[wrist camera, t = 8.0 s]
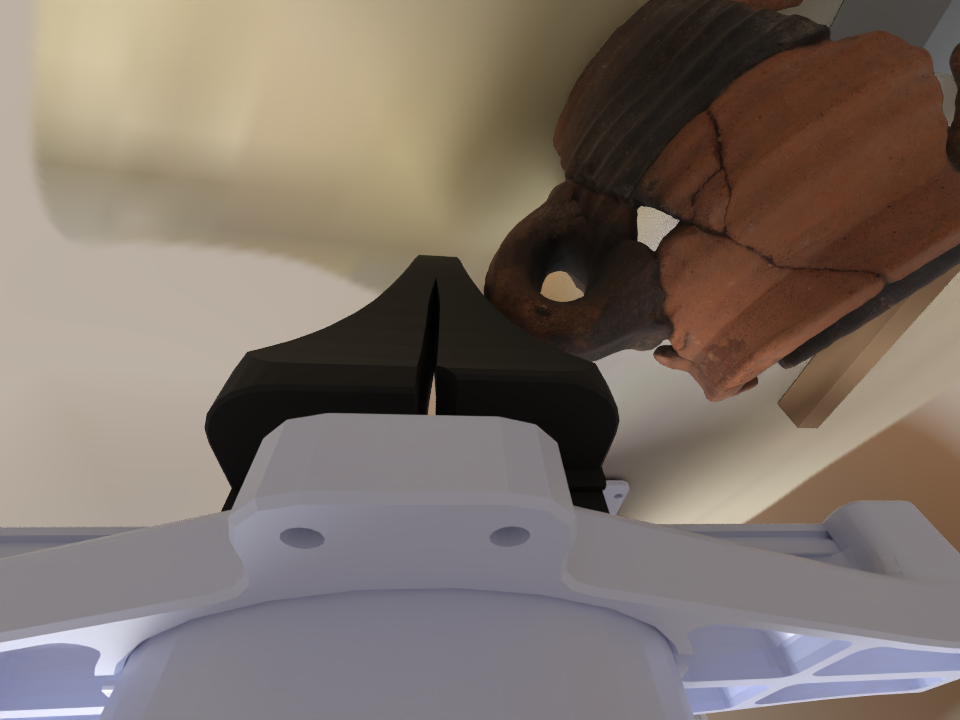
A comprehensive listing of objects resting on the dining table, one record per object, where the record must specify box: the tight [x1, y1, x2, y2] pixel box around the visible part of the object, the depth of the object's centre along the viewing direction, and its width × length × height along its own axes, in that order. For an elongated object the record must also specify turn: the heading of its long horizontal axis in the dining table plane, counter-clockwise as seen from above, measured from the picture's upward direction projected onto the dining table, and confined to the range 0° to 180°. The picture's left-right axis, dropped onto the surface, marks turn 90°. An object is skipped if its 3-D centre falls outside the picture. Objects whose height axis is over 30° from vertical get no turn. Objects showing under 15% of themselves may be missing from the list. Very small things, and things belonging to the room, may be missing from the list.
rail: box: [778, 264, 960, 428], centre depth 15 cm, size 14×1×2 cm, turn 175°
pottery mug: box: [484, 0, 960, 402], centre depth 11 cm, size 12×10×8 cm
